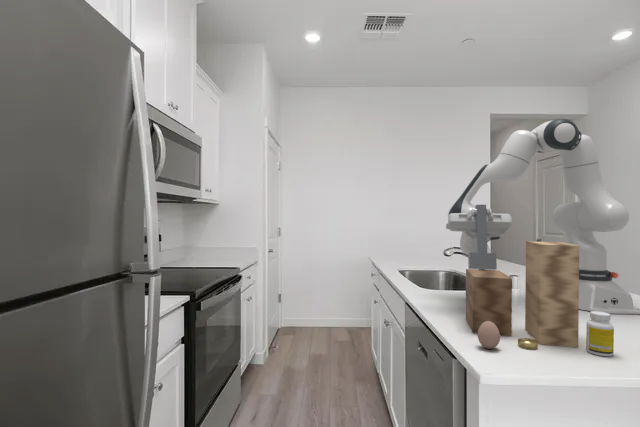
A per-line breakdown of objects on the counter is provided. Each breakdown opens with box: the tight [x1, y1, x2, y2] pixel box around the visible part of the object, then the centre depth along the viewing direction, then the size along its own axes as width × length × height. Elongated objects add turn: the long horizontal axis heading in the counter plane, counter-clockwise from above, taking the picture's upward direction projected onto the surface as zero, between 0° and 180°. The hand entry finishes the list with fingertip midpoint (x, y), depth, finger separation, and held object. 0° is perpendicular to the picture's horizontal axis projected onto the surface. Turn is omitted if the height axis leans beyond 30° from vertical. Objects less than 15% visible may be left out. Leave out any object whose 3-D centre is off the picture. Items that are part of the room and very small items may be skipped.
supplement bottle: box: [585, 311, 615, 357], centre depth 93 cm, size 5×5×10 cm
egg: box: [477, 321, 501, 350], centre depth 96 cm, size 5×5×7 cm
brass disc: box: [517, 337, 539, 351], centre depth 97 cm, size 4×4×2 cm
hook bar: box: [467, 204, 498, 270], centre depth 125 cm, size 21×8×3 cm
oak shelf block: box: [524, 240, 580, 348], centre depth 104 cm, size 9×13×26 cm
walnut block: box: [465, 268, 513, 337], centre depth 114 cm, size 10×16×16 cm, turn 166°
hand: (482, 210), depth 124 cm, fingers closed on hook bar, 3 cm apart
